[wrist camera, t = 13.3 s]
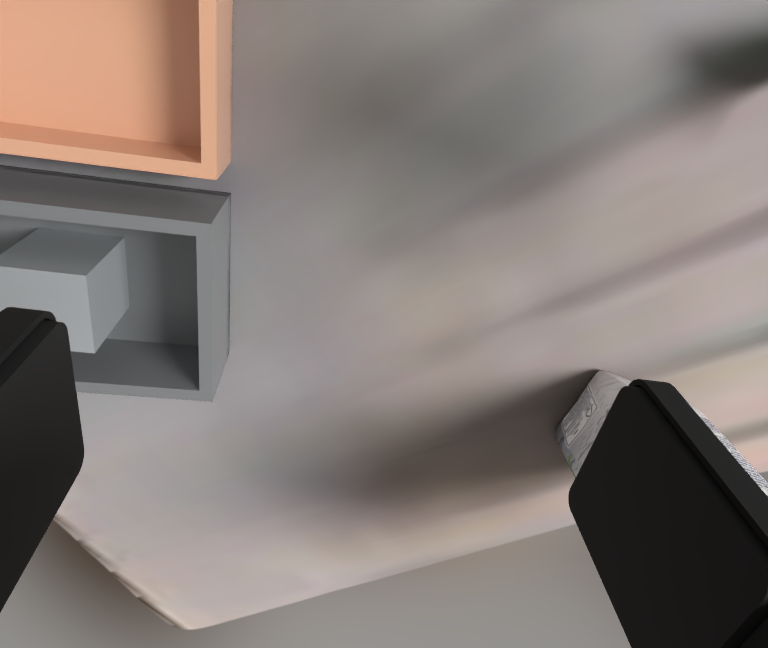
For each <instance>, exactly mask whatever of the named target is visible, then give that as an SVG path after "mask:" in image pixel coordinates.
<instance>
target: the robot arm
mask: <svg viewBox="0 0 768 648" xmlns="http://www.w3.org/2000/svg"><path fill="white" fill-rule="evenodd" d="M83 458H84V445H83V437H82V430H81V423H80V415H79V408H78V401H77V394H76V386H75V379H74V372H73V364H72V357H71V350H70V343H69V335H68V330H67V326H66V325H65V323H63V322H56V318H55V316H54V315H53V313H51V312H50V311H43V310H34V309H25V308H17V307H7V308H5V309H3V310H2V311H1V312H0V612H1V610H2V608H3V607H4V605H5V603H6V601H7V599H8V598H9V596H10V594H11V593H12V591H13V589H14V587H15V585H16V584H17V582H18V580H19V578H20V576H21V575H22V573H23V571H24V569H25V568H26V566H27V564H28V562H29V561H30V559H31V557H32V555H33V553H34V552H35V550H36V548H37V546H38V545H39V543H40V541H41V539H42V537H43V535H44V534H45V532H46V530H47V529H48V527H49V525H50V523H51V522H52V520H53V518H54V516H55V514H56V513H57V511H58V509H59V507H60V506H61V504H62V502H63V500H64V498H65V497H66V495H67V493H68V491H69V490H70V488H71V486H72V484H73V482H74V481H75V479H76V477H77V475H78V473H79V471H80V469H81V466H82V463H83ZM569 507H570V510H571V512H572V514H573V517H574V519H575V521H576V523H577V526H578V528H579V530H580V532H581V535H582V537H583V539H584V541H585V544H586V546H587V548H588V550H589V552H590V555H591V557H592V559H593V562H594V564H595V566H596V569H597V571H598V573H599V575H600V578H601V579H602V582H603V584H604V586H605V589H606V591H607V593H608V595H609V598H610V600H611V602H612V605H613V607H614V609H615V611H616V613H617V616H618V618H619V620H620V623H621V625H622V627H623V629H624V632H625V634H626V636H627V638H628V641H629V643H630V645H631V647H632V648H768V496H767V495H766V494H765V493H764V492H763V490H762V489H761V488H760V487H759V486H758V485H757V483H756V482H755V481H754V480H753V479H752V477H751V476H750V475H749V474H748V473H747V472H746V470H745V469H744V468H743V467H742V466H741V465H740V463H739V462H738V461H737V460H736V459H735V458H734V456H733V455H732V454H731V453H730V452H729V451H728V449H727V448H726V447H725V446H724V445H723V443H722V442H721V441H720V440H719V439H718V438H717V436H716V435H715V434H714V433H713V432H712V431H711V429H710V428H709V427H708V426H707V425H706V424H705V422H704V421H703V420H702V419H701V418H700V417H699V415H698V414H697V413H696V412H695V411H694V410H693V408H692V407H691V406H690V405H689V404H688V402H687V401H686V400H685V399H684V398H683V397H682V395H681V394H680V393H679V392H678V391H677V390H676V388H675V387H674V386H672V385H671V384H670V383H666V382H659V381H650V380H642V379H637V380H633V381H632V382H631V383H630V384H629V385H628V386H624V387H623V388H621V389H620V391H619V392H618V394H617V396H616V398H615V400H614V402H613V404H612V406H611V408H610V410H609V412H608V414H607V416H606V418H605V420H604V422H603V424H602V426H601V428H600V430H599V432H598V434H597V436H596V438H595V440H594V442H593V444H592V446H591V448H590V450H589V452H588V454H587V456H586V458H585V460H584V462H583V464H582V466H581V468H580V470H579V472H578V474H577V476H576V478H575V480H574V482H573V484H572V486H571V488H570V491H569Z"/></svg>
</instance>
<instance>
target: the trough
mask: <svg viewBox="0 0 768 648" xmlns="http://www.w3.org/2000/svg"><path fill="white" fill-rule="evenodd" d="M232 26H233V0H0V153H4V154H12V155H20V156H28V157H36V158H44V159H52V160H60V161H68V162H76V163H84V164H92V165H100V166H108V167H116V168H124V169H132V170H140V171H148V172H156V173H164V174H172V175H180V176H188V177H196V178H204V179H212V180H217V179H218V178H219V176H220V175H221V174H222V173H223V171H224V170H225V169H226V167H227V166H228V165H229V164H230V162H231V123H232Z"/></svg>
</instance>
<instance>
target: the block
mask: <svg viewBox="0 0 768 648" xmlns="http://www.w3.org/2000/svg"><path fill="white" fill-rule="evenodd" d="M129 306H130V305H129V291H128V277H127V263H126V249H125V237H119V236H110V235H102V234H94V233H86V232H78V231H69V230H61V229H53V228H45V227H40V228H38V229H37V230H35V231H34V232H32V233H31V234H30V235H28V236H27V237H25V238H24V239H22V240H21V241H19V242H18V243H16V244H15V245H14V246H12V247H11V248H9V249H8V250H6V251H5V252H3V253H2V254H0V312H1V311H2V310H3V309H5V308H7V307H17V308H25V309H34V310H43V311H50V312H51V313H53V315H54V316H55V318H56V322H63V323H65V325H66V326H67V330H68V335H69V343H70V350H71V351H74V352H85V353H95V352H96V351H97V350H98V348H99V347H100V346H101V344H102V343H103V342H104V340H105V339H106V338H107V336H108V335H109V334H110V332H111V331H112V329H113V328H114V327H115V325H116V324H117V323H118V321H119V320H120V319H121V317H122V316H123V315H124V313H125V312H126V310H127V309H128V308H129Z"/></svg>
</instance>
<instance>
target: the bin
mask: <svg viewBox="0 0 768 648" xmlns="http://www.w3.org/2000/svg"><path fill="white" fill-rule="evenodd" d="M230 219H231V193H225V192H217V191H209V190H200V189H192V188H184V187H176V186H168V185H159V184H151V183H143V182H135V181H127V180H118V179H110V178H102V177H94V176H86V175H78V174H69V173H61V172H53V171H45V170H37V169H28V168H20V167H12V166H4V165H0V254H2V253H3V252H5V251H6V250H8V249H9V248H11V247H12V246H14V245H15V244H16V243H18V242H19V241H21V240H22V239H24V238H25V237H27V236H28V235H30V234H31V233H32V232H34V231H35V230H37V229H38V228H40V227H45V228H53V229H61V230H69V231H78V232H86V233H94V234H102V235H110V236H119V237H125V249H126V263H127V277H128V291H129V305H130V306H129V308H128V309H127V310H126V312H125V313H124V315H123V316H122V317H121V319H120V320H119V321H118V323H117V324H116V325H115V327H114V328H113V329H112V331H111V332H110V334H109V335H108V336H107V338H106V339H105V340H104V342H103V343H102V344H101V346H100V347H99V348H98V350H97V351H96V352H95V353H85V352H74V351H71V357H72V364H73V372H74V379H75V386H76V392H85V393H99V394H113V395H127V396H141V397H155V398H169V399H183V400H197V401H211V402H213V399H214V396H215V393H216V390H217V387H218V384H219V381H220V378H221V375H222V372H223V369H224V366H225V363H226V360H227V357H228V354H229V316H230Z"/></svg>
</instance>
